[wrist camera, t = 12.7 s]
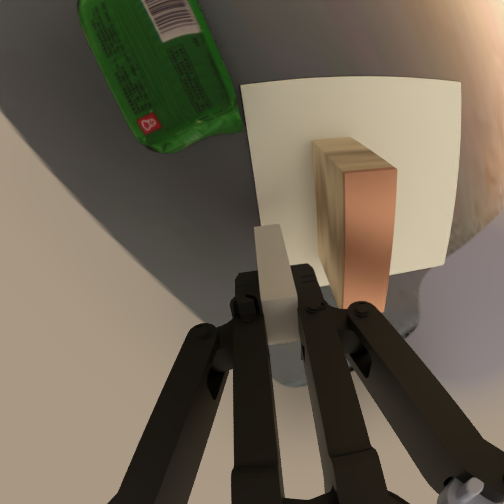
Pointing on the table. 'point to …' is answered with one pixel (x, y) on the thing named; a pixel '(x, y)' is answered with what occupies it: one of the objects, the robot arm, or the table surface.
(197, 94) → the snack package
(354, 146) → the oak slab
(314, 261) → the cream board
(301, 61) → the table surface
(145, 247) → the table surface
